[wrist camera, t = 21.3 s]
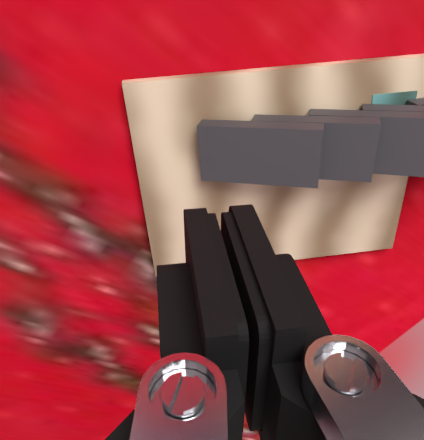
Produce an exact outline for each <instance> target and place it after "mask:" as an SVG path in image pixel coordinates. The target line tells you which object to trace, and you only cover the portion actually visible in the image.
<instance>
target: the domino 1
mask: <svg viewBox="0 0 424 440" xmlns="http://www.w3.org/2000/svg"><path fill="white" fill-rule="evenodd" d="M323 129H324V123H307V122H274V121H240V120H207V119H202V120H201V121H200V123H199V124H198V125H197V134H198V147H199V160H200V173H201V181H214V182H229V183H244V184H259V185H274V186H289V187H304V188H318V181H319V170H320V160H321V150H322V140H323Z"/></svg>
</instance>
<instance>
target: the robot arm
mask: <svg viewBox="0 0 424 440" xmlns="http://www.w3.org/2000/svg"><path fill="white" fill-rule="evenodd" d="M183 214H184V237H185V258H186V263H178V264H167V265H157V267H156V268H157V291H158V312H159V334H160V356H161V359H160V360H158V361H157V362H156V363H154V364H153V365H152V366H150V368H149V369H148V370H147V371H146V373H145V374H144V375H143V377H142V380H141V383H140V386H139V389H138V395H137V400H136V406H135V409H134V410H133V411H132V412H131V413H130V414H129V416H128V417H127V418H126V419H125V420H124V421H123V422H122V423H121V424H120V425H119V426H118V427H117V428H116V429H115V430H114V431H113V432H112V433H111V434H110V435H109V436H108V437H107V438H106V439H105V440H242V432H243V424H244V410H245V414H246V419H247V423H248V427H249V429H250V431H254V430H258V431H259V435H260V440H424V399H422V398H420V397H418V396H416V395H414V394H412V393H411V392H410V391H409V390H408V388H407V387H406V386H405V385H404V383H403V382H402V381H401V379H400V378H399V377H398V376H397V375H396V373H395V372H394V371H393V369H392V368H391V367H390V366H389V364H388V363H387V362H386V361H385V359H384V358H383V357H382V356H381V355H380V354H379V353H378V352H377V351H376V350H375V349H374V348H373V347H371V346H369V345H368V344H366V343H365V342H363V341H361V340H358V339H356V338H353V337H350V336H344V335H332V334H331V332H330V330H329V328H328V326H327V324H326V322H325V320H324V318H323V316H322V314H321V312H320V310H319V308H318V306H317V304H316V302H315V300H314V298H313V296H312V294H311V292H310V290H309V288H308V286H307V284H306V282H305V281H304V279H303V277H302V275H301V273H300V271H299V269H298V267H297V265H296V263H295V261H294V259H293V257H292V256H291V255H290V254H277V255H275V253H274V250H273V248H272V246H271V244H270V242H269V239H268V237H267V235H266V233H265V231H264V228H263V226H262V224H261V222H260V220H259V217H258V215H257V213H256V211H255V209H254V206H253V205H252V204H248V205H235V206H230V207H229V211H228V212H222V213H221V231H220V227H219V224H218V220H217V217H216V214H215V213H207V209H206V208H195V209H184V212H183Z"/></svg>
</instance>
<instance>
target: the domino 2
mask: <svg viewBox="0 0 424 440" xmlns="http://www.w3.org/2000/svg"><path fill="white" fill-rule="evenodd" d="M252 121H274V122H307V123H324V129H323V140H322V150H321V160H320V170H319V179H322V180H338V181H355V182H371V180H372V174H373V168H374V163H375V157H376V151H377V145H378V140H379V134H380V128H381V122H380V118H379V117H344V116H302V115H260V114H255V115H254V117H253V119H252Z"/></svg>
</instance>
